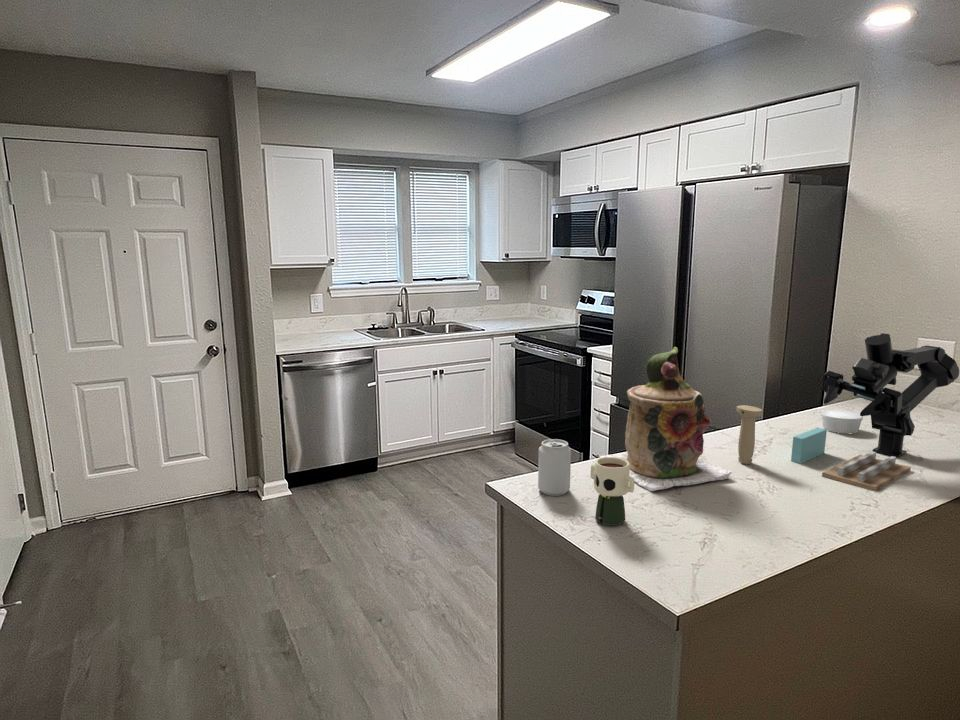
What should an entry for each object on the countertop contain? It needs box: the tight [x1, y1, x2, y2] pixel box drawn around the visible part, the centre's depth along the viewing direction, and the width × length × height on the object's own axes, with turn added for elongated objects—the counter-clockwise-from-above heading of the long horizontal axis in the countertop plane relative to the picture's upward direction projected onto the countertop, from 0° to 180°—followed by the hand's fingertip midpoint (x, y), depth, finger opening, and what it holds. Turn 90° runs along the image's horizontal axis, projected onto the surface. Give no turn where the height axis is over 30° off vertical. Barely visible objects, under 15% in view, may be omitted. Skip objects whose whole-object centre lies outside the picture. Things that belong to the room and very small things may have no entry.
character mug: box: [590, 457, 635, 526], centre depth 127 cm, size 11×7×13 cm, turn 40°
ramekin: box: [820, 409, 864, 434], centre depth 191 cm, size 11×11×5 cm
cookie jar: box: [599, 346, 733, 492], centre depth 154 cm, size 25×25×32 cm
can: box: [537, 438, 572, 497], centre depth 143 cm, size 8×8×12 cm
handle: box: [735, 404, 763, 465], centre depth 161 cm, size 5×6×15 cm
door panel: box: [790, 427, 828, 464], centre depth 166 cm, size 14×2×7 cm, turn 127°
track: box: [821, 451, 912, 492], centre depth 154 cm, size 22×12×3 cm, turn 127°
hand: (842, 408), depth 155 cm, fingers open, 9 cm apart
